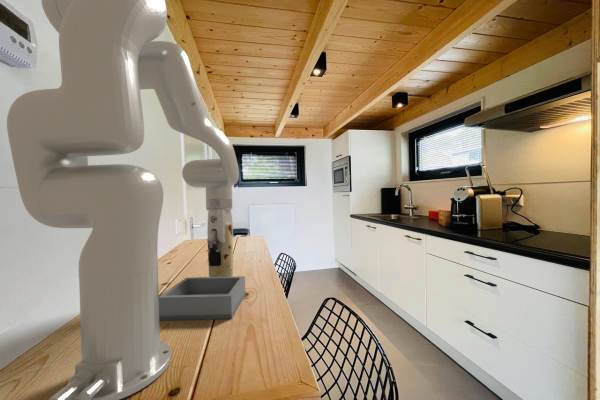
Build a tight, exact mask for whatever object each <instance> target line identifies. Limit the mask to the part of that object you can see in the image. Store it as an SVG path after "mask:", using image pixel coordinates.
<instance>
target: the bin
mask: <svg viewBox="0 0 600 400" xmlns="http://www.w3.org/2000/svg"><path fill="white" fill-rule="evenodd" d="M245 296H246V276H244V275H243V276H241V275H240V276H239V275H237V276H233V277H209V276H203V277H200V276H199V277H185V278H184V279H182V280H180V282H178V283H176V284H175V285H174V286H173V287H171V288H169V289H168V290H166V291H165V292H164V293H162V294H161V295H159V321H186V320H189V321H192V320H194V321H195V320H199V321H200V320H233V317H234V316H235V314H236V312H237V310H238V309H239V307H240V306H241V303H242V302H243V300H244V298H245Z"/></svg>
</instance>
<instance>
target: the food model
mask: <svg viewBox="0 0 600 400" xmlns="http://www.w3.org/2000/svg"><path fill="white" fill-rule="evenodd" d="M232 225H233V224H232ZM232 225H231V223H230V222H229V221H228V222H227V224H226V226H225V234H226V243H225V244H223V243H222V242H221V246H220V250H219V252H221V265H220V266H209V252H208V251H207V262H208V277H234V276H233V275H234V243H233V239H234V237H233V238H232ZM206 234H207V235H208V233H206ZM214 241H219V239H218V237H217V234H216V236H215V240H214ZM216 247H217V245H216ZM208 249H209V248H208V247H207V250H208Z"/></svg>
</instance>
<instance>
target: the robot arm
mask: <svg viewBox="0 0 600 400" xmlns="http://www.w3.org/2000/svg"><path fill="white" fill-rule="evenodd" d="M41 7H42V9H43V12H44V14H45V17H46V18H47V20H48V21H49V23H50V25H52V27H53V28H54V29H55V31H56V32H57V33H58V52H59V62H60V71H61V72H60V73H61V85H59V87H58V88H45V89H36V90H32V91H28V92H26V93H23V94H21V95H20V96H18V97H17V98H16V99H15V100H14V101H13V102H12V104H11V105H10V108H9V110H8V114H7V117H6V129H7V137H8V142H9V147H10V152H11V157H12V163H13V167H14V172H15V178H16V181H17V187H18V189H19V196H20V199H21V201H22V204H23V206H24V207H25V209H26V211H27V213H28V214H29V215H30V216H31V217H32V218H33V219H34V220H35V221H36V222H38V223H40V224H42V225H43V226H47V227H51V228H57V229H92V230H91V232H90V234H89V236H88V237H87V240H86V242H85V244H84V245H83V247H82V249H81V252H80V256H79V258H78V260H79V261H78V279H79V280H78V282H79V284H78V285H79V289H78V290H79V315H80V317H79V318H80V348H81V349H80V350H81V353H80V354H81V361H79V362H77V363H76V364H75V365H74V373H73V375H72V376H71V377H70V379H69V380H68V382H67V385H65V386H64V387H62V388H61V389H60V390H58V391H57V392H56V393H55V394H54V395H52V396H51V397H50V398H48V399H47V400H121V399H122V400H123V399H124V398H126V397H129V396H131V395H134V394H135V393H137V392H139V391H141V390H142V389H144V388H145V387H147V386H149V385H150V384H151V383H153V382H155V381H156V380H157V379H158V378H159V377H160V376H161V375H162V374H163V373H164V372H165V370H167V368H168V366H169V365H170V363H171V360H172V349H171V347H170V345H169V344H168V343H166V342H164V341H161V338H160V337H161V336H160V335H161V333H160V331H161V330H160V327H161V326H160V320H159V296H160V295H159V290H160V289H159V265H158V264H159V262H158V239H159V237H158V236H159V226H160V220H161V215H162V209H163V203H164V189H163V185H162V183H161V181H160V179H159V177H157V176H156V174H155V173H153V172H152V171H150V170H149V169H147V168H145V167H141V166H139V165H132V164H125V163H124V164H123V163H122V164H121V163H120V164H119V163H118V164H116V163H115V164H114V163H113V164H91V165H89V158H88V157H97V156H98V157H100V156H102V157H103V156H116V155H118V156H119V155H125V154H131V153H134V152H136V151H138V150H139V149H140V148H141V147H142V145H143V143H144V141H145V124H144V115H143V104H142V96H141V90H154V92H155V94H156V96H157V99H158V102H159V104H160V106H161V109H162V111H163V114H164V116H165V119H166V121H167V124H168V126H169V127H170V128H171V129H172V130H174V131H175V132H178V133H179V134H183V135H186V136H188V137H190V138H194V139H195V140H199V141H200V142H202V143H204V144H206V145H208V146H209V147H210V148H211V149H212V150H213V151H215V153H216V154H217V155H218V157H219V158H209V159H208V158H207V159H194V160H190V161H188V162H187V163H185V164H184V166H183V167H182V170H181V171H182V174H181V175H182V178H183V181H184V182H185V183H186V184H187V185H188V186H190V187H193V188H198V189H199V188H200V189H201V188H205V208H206V210H205V211H208V212H207V233H208V234H207V233H206V234H207V239H206V241H207V253H208V252H209V265H208V267H209V266H220V265H221V252H219V250H220V246H221V242H222V243H223V244H225V243H226V234H225V226H226V224H227V222H228V221H229V222H230V223H231V225H232V238H233V239H234V225H233V214H232V210H233V187H232V186H235V185H236V184H237V183H238V181H239V178H240V169H239V164H238V159H237V156H236V152H235V149H234V147H233V145H232V142H231V141H230V139H229V138H228V137H227V136H226V134H225V133H224V132H223V131H222V130H221V129H220V128H219V127H218V126H216V125H215V124H214V123H213V122H212V121H210V119H209V118H208V117H207V115H206V111H205V108H204V105H203V101H202V98H201V95H200V91H199V89H198V85H197V81H196V78H195V75H194V71H193V68H192V66H191V62H190V59H189V57H188V55H187V52H186V51H185V50H184V49H183V47H181V46H180V45H178V44H176V43H174V42H170V41H167V40H166V41H165V40H156V39H157V38H159V36H160V37H161V34H162V33H163V32H164V30H165V28H166V26H167V21H168V9H167V3H166V0H41ZM216 234H217V237H218V239H219V241H214V240H215V236H216ZM216 245H217V247H216ZM208 248H209V249H208Z"/></svg>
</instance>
